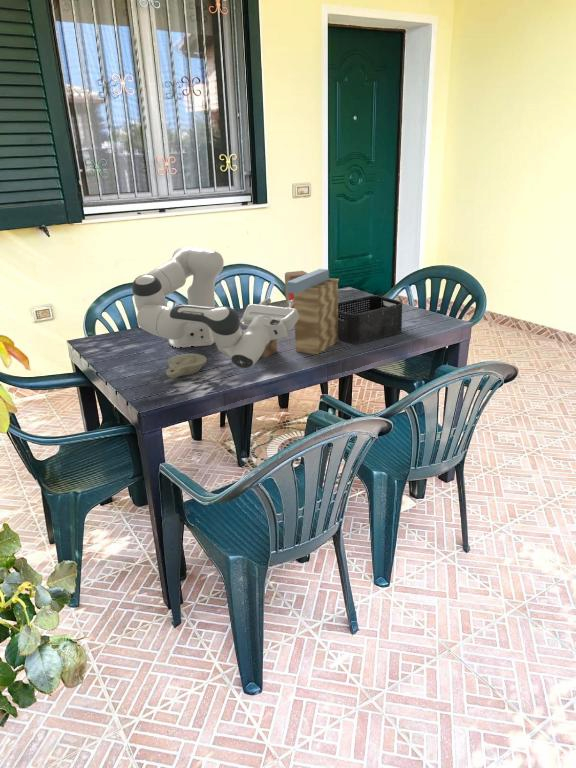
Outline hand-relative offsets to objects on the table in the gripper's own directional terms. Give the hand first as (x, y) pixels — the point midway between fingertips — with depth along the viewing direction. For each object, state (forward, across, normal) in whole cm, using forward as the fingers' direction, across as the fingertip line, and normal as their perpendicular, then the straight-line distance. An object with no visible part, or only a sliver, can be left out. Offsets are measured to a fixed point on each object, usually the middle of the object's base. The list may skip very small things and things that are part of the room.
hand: (280, 300), depth 202 cm
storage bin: (+31, +10, -48) cm, 58 cm away
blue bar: (+19, 0, -10) cm, 21 cm away
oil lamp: (-32, -29, -11) cm, 44 cm away
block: (+46, -33, -56) cm, 80 cm away
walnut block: (-3, -16, -27) cm, 32 cm away
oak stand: (+11, 0, -36) cm, 37 cm away
